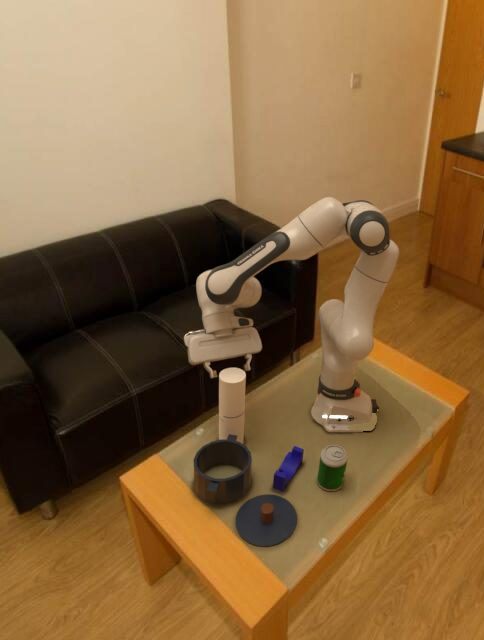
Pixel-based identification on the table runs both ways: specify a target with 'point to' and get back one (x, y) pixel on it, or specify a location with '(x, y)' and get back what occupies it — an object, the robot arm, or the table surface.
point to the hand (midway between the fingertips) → (231, 374)
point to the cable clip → (288, 468)
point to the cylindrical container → (232, 403)
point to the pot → (222, 455)
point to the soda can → (332, 468)
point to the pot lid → (266, 520)
